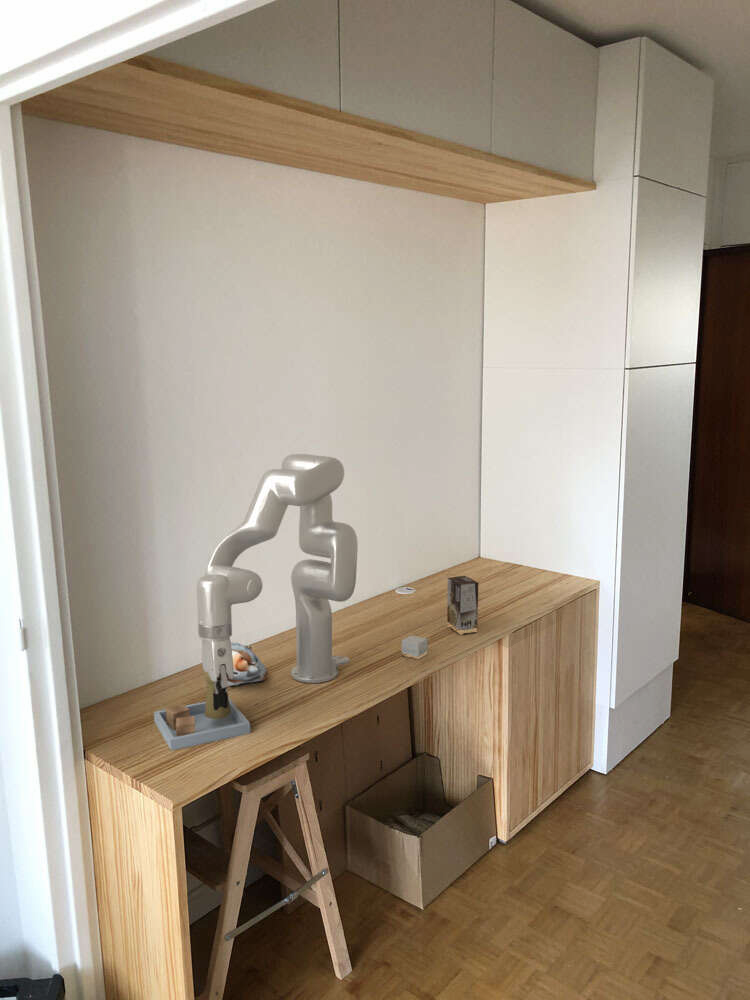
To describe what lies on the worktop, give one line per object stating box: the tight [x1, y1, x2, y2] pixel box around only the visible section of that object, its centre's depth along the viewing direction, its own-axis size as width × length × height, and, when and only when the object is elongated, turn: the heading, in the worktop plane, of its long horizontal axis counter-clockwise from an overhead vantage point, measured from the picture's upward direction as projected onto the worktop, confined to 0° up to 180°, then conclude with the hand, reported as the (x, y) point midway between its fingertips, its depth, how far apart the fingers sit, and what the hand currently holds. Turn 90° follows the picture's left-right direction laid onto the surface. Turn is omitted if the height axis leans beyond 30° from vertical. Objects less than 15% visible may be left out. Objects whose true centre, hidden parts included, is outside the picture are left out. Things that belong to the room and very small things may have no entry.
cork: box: [204, 671, 231, 719], centre depth 192 cm, size 6×6×11 cm
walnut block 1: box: [165, 703, 190, 730], centre depth 192 cm, size 4×4×4 cm
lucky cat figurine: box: [227, 642, 268, 687], centre depth 217 cm, size 15×12×14 cm
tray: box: [153, 697, 251, 752], centre depth 191 cm, size 18×16×3 cm
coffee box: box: [446, 575, 479, 630], centre depth 257 cm, size 9×6×16 cm
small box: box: [401, 635, 429, 657], centre depth 237 cm, size 6×6×5 cm
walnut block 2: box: [176, 716, 195, 737], centre depth 186 cm, size 4×4×4 cm
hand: (217, 703), depth 192 cm, fingers closed on cork, 3 cm apart
